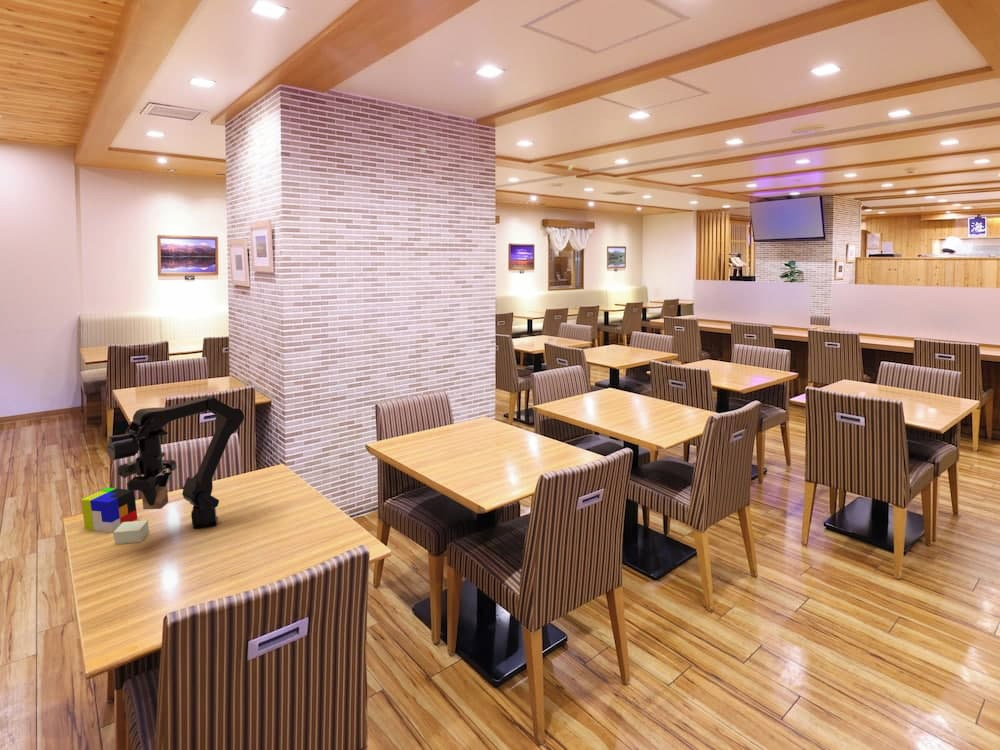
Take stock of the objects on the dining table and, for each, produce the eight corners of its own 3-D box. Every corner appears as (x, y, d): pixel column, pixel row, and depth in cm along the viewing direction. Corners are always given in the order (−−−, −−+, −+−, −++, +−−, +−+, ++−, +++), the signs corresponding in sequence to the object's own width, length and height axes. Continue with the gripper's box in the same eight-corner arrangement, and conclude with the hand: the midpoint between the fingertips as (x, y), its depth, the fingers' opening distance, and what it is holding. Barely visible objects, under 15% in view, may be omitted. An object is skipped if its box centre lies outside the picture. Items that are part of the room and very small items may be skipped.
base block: (149, 532, 189) (147, 520, 188) (140, 542, 182) (139, 530, 182) (124, 534, 188) (122, 522, 187) (115, 544, 181) (113, 532, 180)
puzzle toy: (112, 532, 188) (108, 502, 186) (85, 529, 190) (81, 499, 188) (137, 519, 198) (134, 490, 196) (111, 516, 200) (107, 487, 198)
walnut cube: (168, 502, 185) (166, 486, 184) (161, 508, 180) (159, 492, 179) (151, 502, 184) (149, 487, 183) (143, 509, 179) (141, 493, 178)
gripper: (137, 442, 187) (142, 490, 190) (104, 463, 169) (110, 515, 172) (174, 442, 188) (179, 489, 191) (146, 462, 170) (152, 514, 173)
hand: (155, 501), depth 182 cm, fingers closed on walnut cube, 5 cm apart
